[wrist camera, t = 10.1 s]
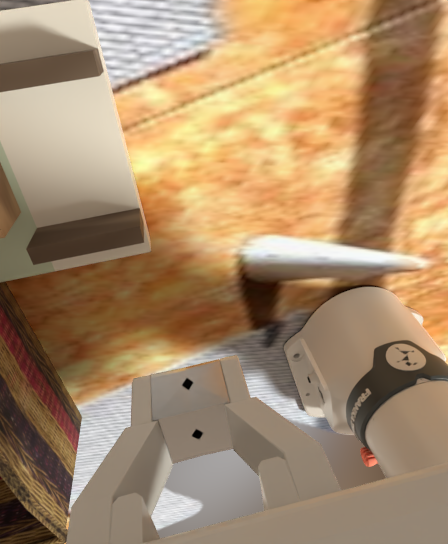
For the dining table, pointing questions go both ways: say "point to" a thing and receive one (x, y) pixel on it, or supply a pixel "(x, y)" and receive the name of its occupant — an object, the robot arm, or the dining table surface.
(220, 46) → the dining table surface
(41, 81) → the dark brown bars
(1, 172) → the tan square block
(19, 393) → the basket
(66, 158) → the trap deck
